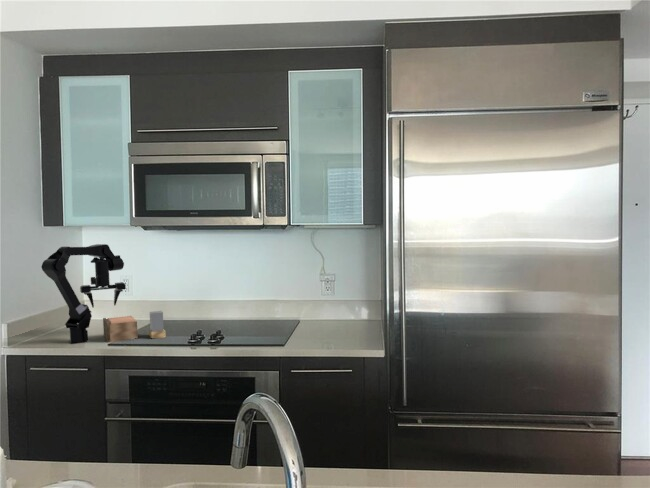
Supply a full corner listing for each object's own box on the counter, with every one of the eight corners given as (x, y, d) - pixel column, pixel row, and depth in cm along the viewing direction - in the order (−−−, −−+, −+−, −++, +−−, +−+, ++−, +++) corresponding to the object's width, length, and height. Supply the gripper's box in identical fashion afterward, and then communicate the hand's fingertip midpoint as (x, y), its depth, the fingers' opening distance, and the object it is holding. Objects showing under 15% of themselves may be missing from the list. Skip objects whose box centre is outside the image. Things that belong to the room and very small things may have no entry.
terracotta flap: (110, 324, 247) (109, 321, 246) (106, 320, 255) (106, 318, 255) (135, 321, 251) (135, 318, 251) (131, 317, 260) (130, 315, 260)
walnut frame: (108, 342, 245) (107, 322, 245) (103, 337, 256) (103, 318, 256) (137, 338, 251) (136, 319, 250) (132, 333, 262) (131, 315, 262)
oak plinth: (151, 339, 249) (151, 332, 249) (148, 336, 254) (148, 329, 254) (165, 337, 252) (165, 330, 252) (162, 334, 257) (162, 328, 257)
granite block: (151, 331, 250) (150, 313, 249) (150, 329, 254) (149, 311, 254) (163, 330, 252) (162, 312, 251) (162, 328, 256) (161, 310, 256)
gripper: (121, 269, 271) (122, 302, 272) (78, 272, 262) (79, 306, 263) (125, 271, 261) (126, 305, 262) (80, 274, 252) (82, 309, 253)
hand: (104, 306), depth 260 cm, fingers open, 9 cm apart
